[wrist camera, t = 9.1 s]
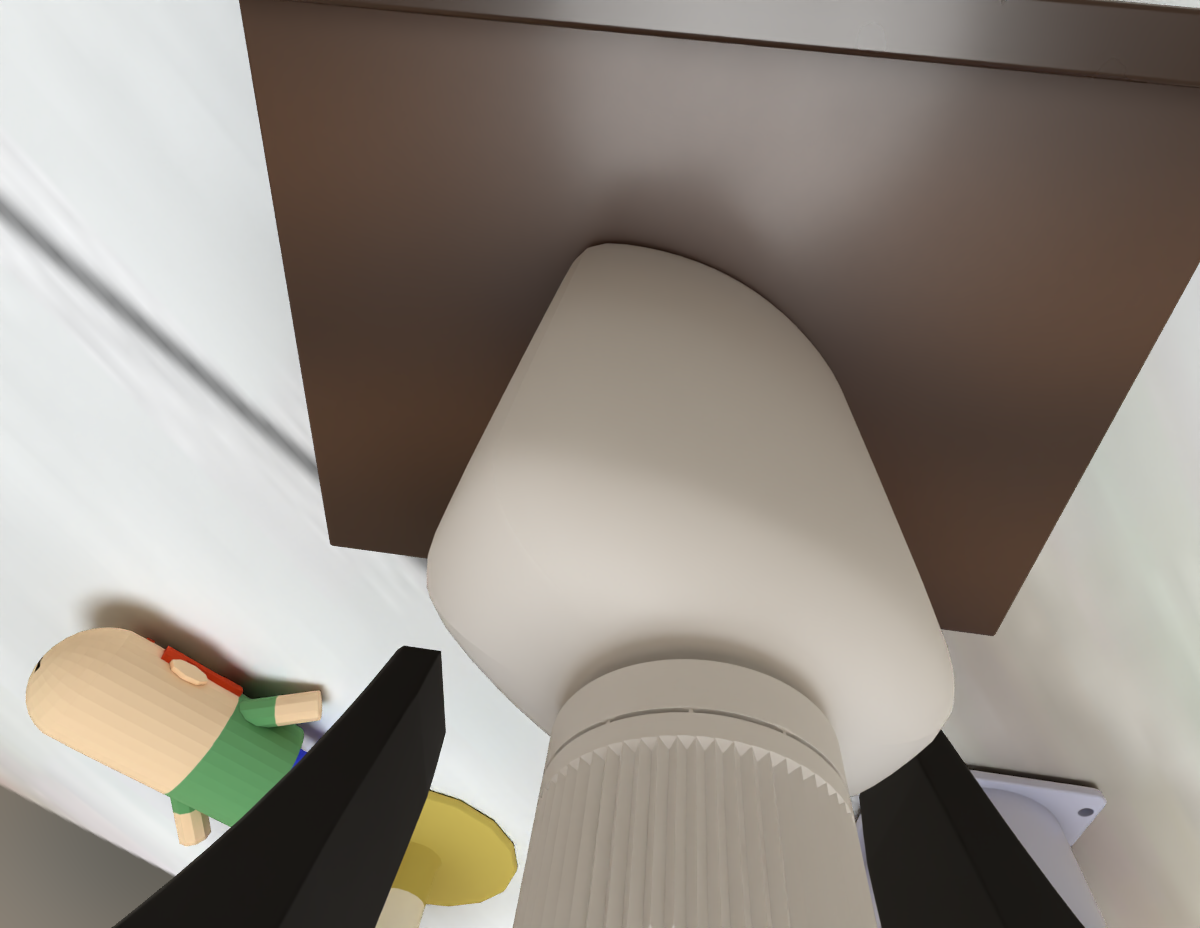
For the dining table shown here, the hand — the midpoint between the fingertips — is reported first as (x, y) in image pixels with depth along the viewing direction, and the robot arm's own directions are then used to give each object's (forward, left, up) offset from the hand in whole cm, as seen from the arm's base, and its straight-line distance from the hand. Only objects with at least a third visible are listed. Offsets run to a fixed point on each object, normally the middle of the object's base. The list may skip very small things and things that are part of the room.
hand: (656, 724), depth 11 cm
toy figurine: (-15, +16, -10) cm, 24 cm away
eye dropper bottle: (+4, 0, -5) cm, 7 cm away
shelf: (+4, 0, -10) cm, 11 cm away
